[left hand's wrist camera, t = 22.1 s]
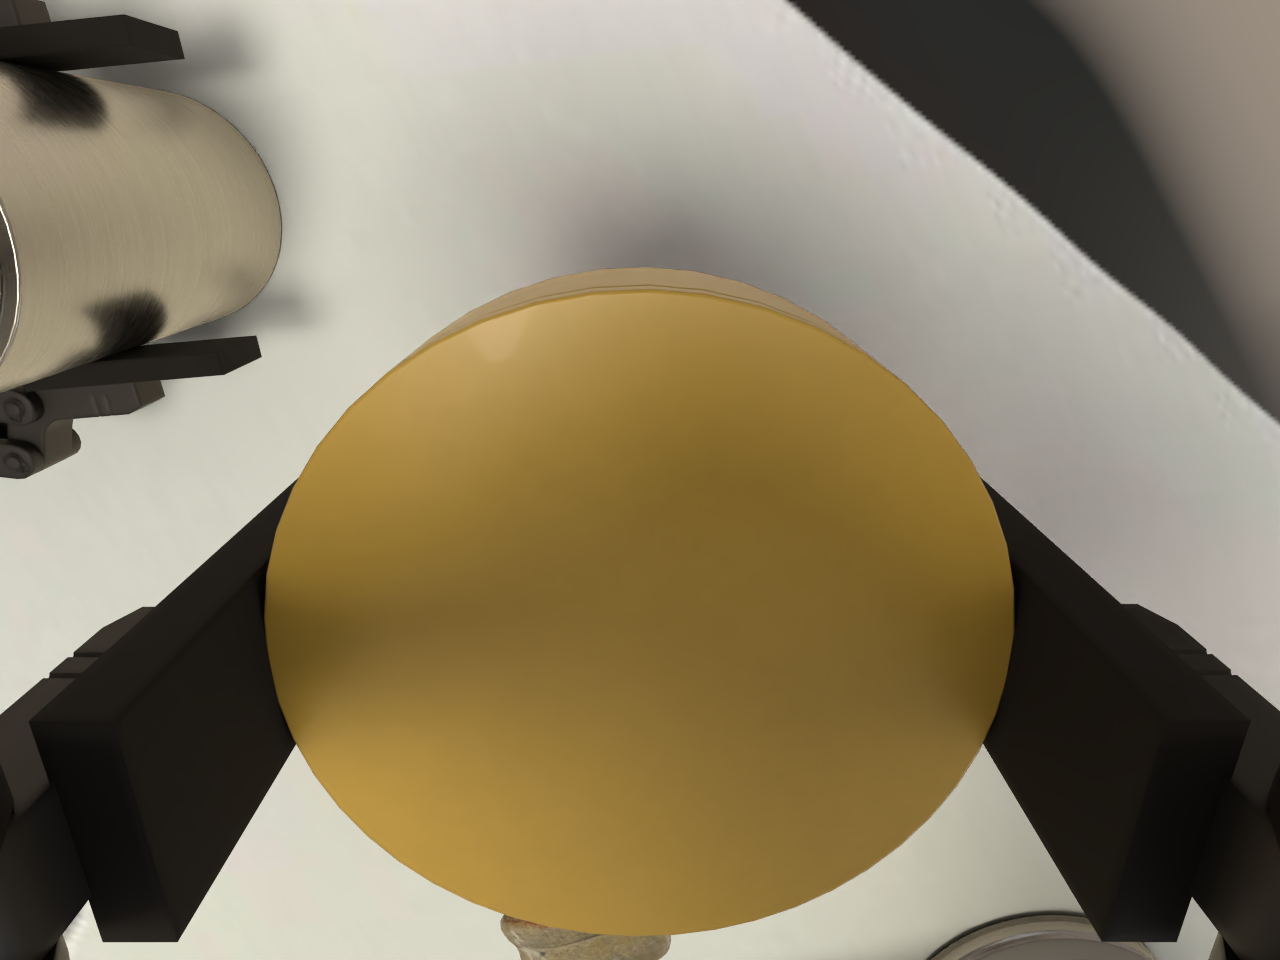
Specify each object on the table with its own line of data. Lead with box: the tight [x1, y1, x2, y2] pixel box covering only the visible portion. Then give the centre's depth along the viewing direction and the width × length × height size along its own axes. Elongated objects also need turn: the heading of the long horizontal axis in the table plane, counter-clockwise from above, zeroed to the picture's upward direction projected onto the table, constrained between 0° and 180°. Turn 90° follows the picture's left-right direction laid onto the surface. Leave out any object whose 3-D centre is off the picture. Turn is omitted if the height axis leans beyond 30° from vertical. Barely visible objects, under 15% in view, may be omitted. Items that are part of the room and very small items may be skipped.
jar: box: [0, 62, 281, 393], centre depth 24 cm, size 9×9×16 cm
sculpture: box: [501, 915, 671, 960], centre depth 31 cm, size 6×7×15 cm
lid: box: [264, 267, 1014, 936], centre depth 11 cm, size 9×9×2 cm
